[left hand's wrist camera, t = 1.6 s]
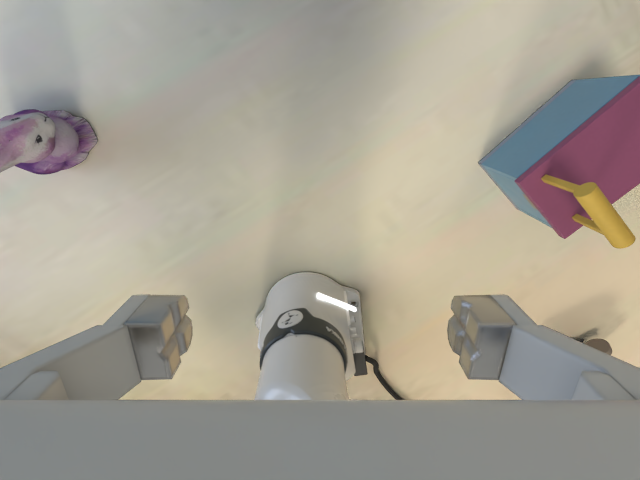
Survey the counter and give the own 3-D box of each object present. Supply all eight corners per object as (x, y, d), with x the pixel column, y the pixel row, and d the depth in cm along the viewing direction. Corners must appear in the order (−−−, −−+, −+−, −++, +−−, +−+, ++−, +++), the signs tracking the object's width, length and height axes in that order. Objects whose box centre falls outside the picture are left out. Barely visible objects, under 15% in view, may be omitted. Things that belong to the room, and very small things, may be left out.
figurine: (106, 118, 47) (17, 125, 33) (88, 182, 50) (0, 214, 36) (36, 83, 45) (-89, 75, 31) (22, 152, 49) (-96, 172, 35)
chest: (516, 208, 52) (561, 233, 42) (477, 162, 49) (516, 178, 40) (608, 134, 48) (682, 143, 38) (571, 79, 45) (640, 74, 36)
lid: (559, 236, 42) (614, 267, 34) (513, 180, 40) (562, 201, 32) (682, 143, 38) (779, 154, 30) (641, 74, 35) (735, 66, 27)
